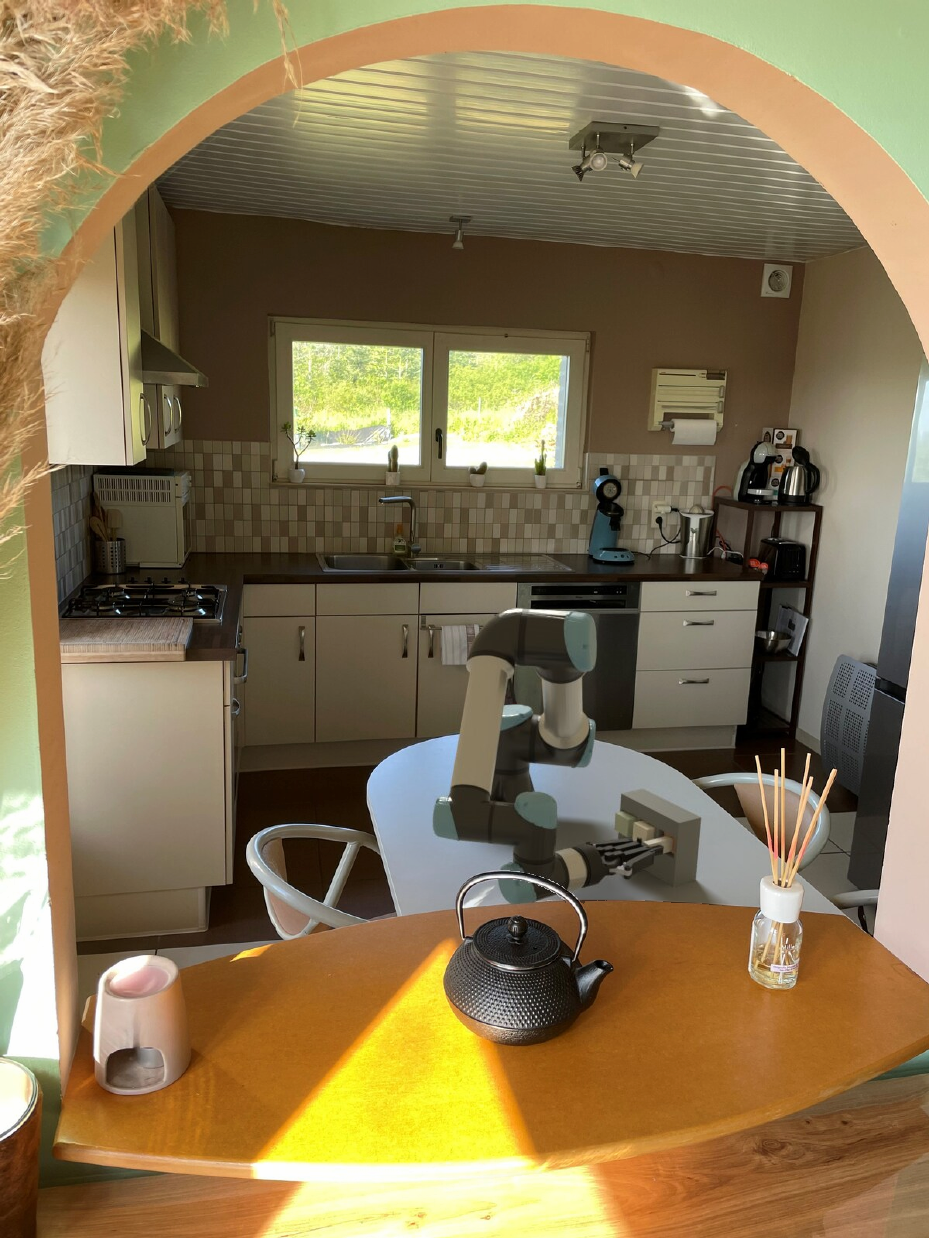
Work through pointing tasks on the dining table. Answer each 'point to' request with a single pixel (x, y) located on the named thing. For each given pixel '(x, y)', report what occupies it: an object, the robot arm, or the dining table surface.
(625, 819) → the sage key
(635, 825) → the cream key
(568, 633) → the robot arm
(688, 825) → the keypad
